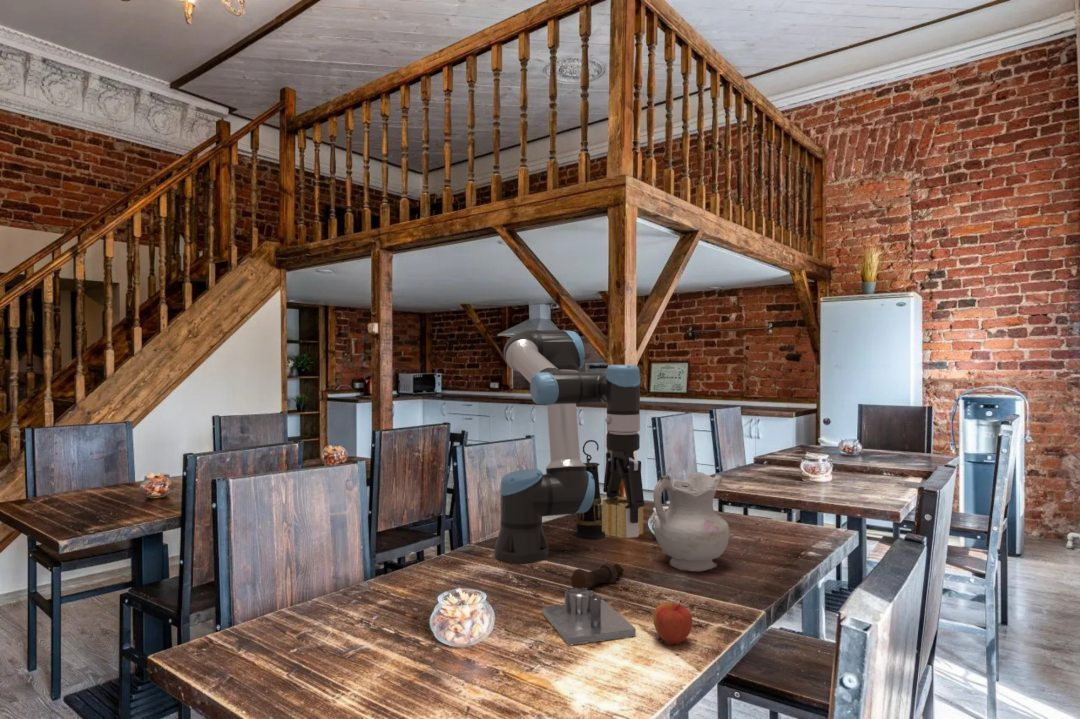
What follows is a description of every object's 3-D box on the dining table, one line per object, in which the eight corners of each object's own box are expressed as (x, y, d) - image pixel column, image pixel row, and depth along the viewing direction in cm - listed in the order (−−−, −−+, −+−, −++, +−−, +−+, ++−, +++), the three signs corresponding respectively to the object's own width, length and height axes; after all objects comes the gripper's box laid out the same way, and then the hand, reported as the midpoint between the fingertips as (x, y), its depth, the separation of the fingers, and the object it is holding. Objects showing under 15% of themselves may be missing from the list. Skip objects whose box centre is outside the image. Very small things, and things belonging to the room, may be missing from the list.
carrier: (542, 614, 134) (542, 581, 134) (603, 606, 138) (603, 574, 138) (568, 646, 119) (568, 608, 119) (635, 636, 123) (635, 600, 123)
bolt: (621, 585, 157) (580, 599, 146) (608, 571, 160) (567, 583, 150) (631, 568, 155) (590, 580, 144) (617, 554, 158) (576, 565, 148)
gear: (596, 528, 146) (596, 498, 146) (631, 525, 149) (632, 495, 149) (612, 539, 137) (612, 507, 137) (650, 535, 140) (650, 504, 140)
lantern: (573, 532, 200) (573, 438, 200) (601, 531, 201) (601, 437, 201) (578, 540, 191) (578, 441, 191) (607, 539, 192) (607, 441, 192)
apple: (650, 633, 124) (650, 592, 124) (688, 633, 124) (687, 593, 124) (656, 650, 117) (656, 607, 117) (696, 650, 117) (695, 607, 117)
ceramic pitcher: (692, 588, 153) (699, 487, 152) (631, 562, 167) (637, 470, 166) (740, 569, 167) (747, 477, 166) (680, 547, 182) (686, 462, 180)
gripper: (589, 427, 152) (589, 519, 152) (628, 439, 131) (628, 546, 131) (617, 426, 154) (617, 517, 154) (661, 437, 133) (660, 543, 133)
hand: (622, 530), depth 143 cm, fingers closed on gear, 9 cm apart
